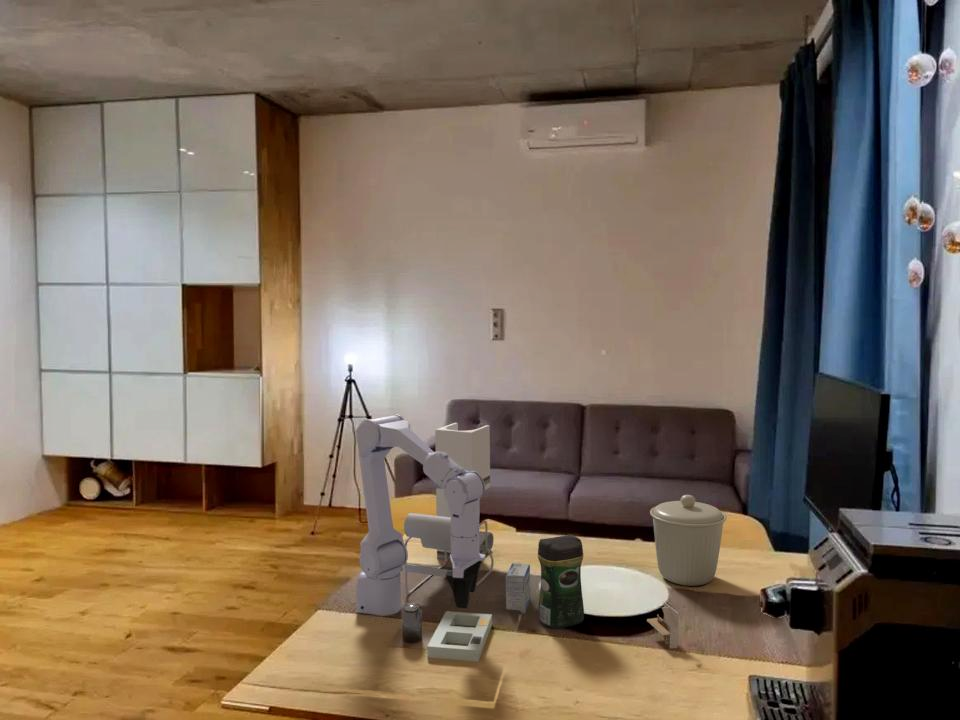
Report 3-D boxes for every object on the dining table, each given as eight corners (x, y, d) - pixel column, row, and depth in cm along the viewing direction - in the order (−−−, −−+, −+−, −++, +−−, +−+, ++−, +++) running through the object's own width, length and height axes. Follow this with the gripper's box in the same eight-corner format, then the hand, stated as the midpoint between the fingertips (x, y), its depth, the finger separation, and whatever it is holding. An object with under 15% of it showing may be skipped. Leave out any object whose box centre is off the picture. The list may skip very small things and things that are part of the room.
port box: (427, 661, 142) (427, 646, 142) (446, 624, 158) (446, 610, 157) (478, 665, 140) (478, 650, 140) (492, 628, 156) (492, 614, 156)
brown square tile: (387, 650, 147) (387, 646, 147) (399, 632, 154) (399, 628, 154) (426, 653, 145) (426, 649, 145) (436, 634, 153) (436, 631, 153)
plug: (399, 642, 148) (399, 608, 148) (405, 633, 152) (404, 600, 151) (419, 643, 147) (418, 610, 147) (424, 634, 151) (423, 602, 151)
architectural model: (663, 652, 146) (663, 615, 145) (646, 636, 153) (647, 601, 152) (678, 649, 147) (679, 613, 146) (661, 634, 154) (662, 600, 153)
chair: (403, 598, 172) (402, 516, 170) (447, 562, 195) (446, 489, 193) (456, 607, 167) (455, 522, 165) (495, 568, 190) (494, 494, 188)
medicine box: (525, 614, 163) (525, 576, 162) (505, 612, 164) (505, 575, 163) (530, 599, 170) (530, 563, 170) (511, 598, 171) (511, 562, 170)
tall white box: (472, 563, 193) (471, 432, 190) (437, 558, 198) (435, 429, 195) (490, 550, 204) (489, 425, 201) (456, 544, 208) (455, 422, 205)
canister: (696, 561, 194) (697, 483, 192) (740, 587, 177) (742, 501, 175) (635, 570, 188) (636, 489, 186) (675, 597, 171) (677, 508, 169)
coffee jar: (570, 609, 165) (571, 528, 163) (589, 624, 157) (589, 539, 156) (532, 617, 161) (532, 534, 159) (549, 632, 154) (549, 546, 152)
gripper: (478, 546, 139) (478, 616, 140) (490, 523, 153) (491, 586, 154) (441, 544, 140) (442, 613, 141) (457, 521, 154) (458, 584, 156)
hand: (465, 599), depth 148 cm, fingers open, 7 cm apart
